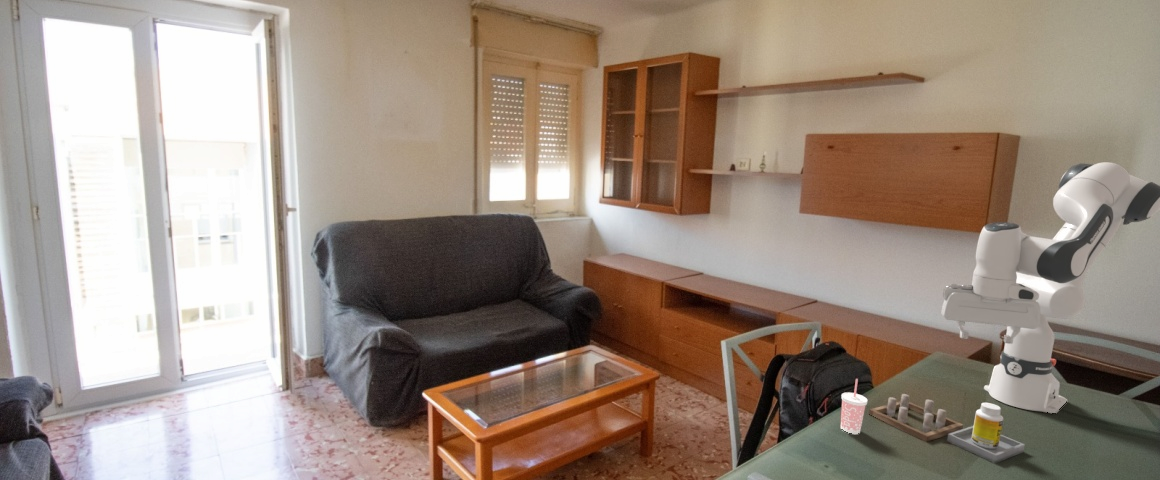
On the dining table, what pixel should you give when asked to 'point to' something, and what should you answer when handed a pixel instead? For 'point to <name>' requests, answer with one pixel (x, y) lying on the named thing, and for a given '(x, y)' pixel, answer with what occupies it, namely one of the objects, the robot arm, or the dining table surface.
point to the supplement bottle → (987, 426)
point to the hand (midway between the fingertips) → (985, 340)
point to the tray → (998, 454)
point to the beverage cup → (852, 411)
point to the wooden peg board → (926, 412)
